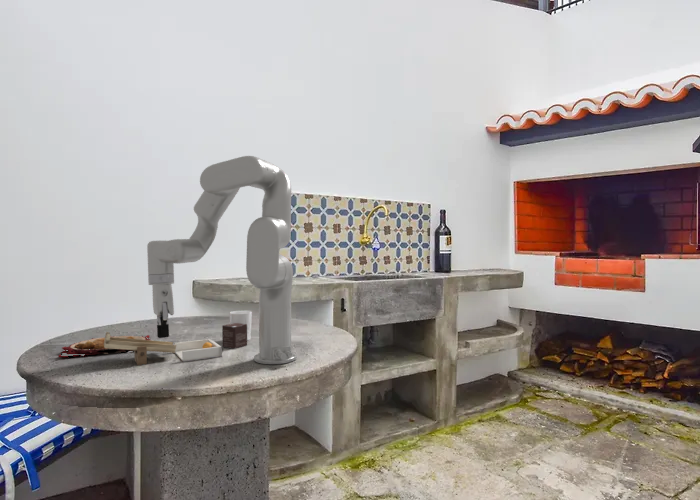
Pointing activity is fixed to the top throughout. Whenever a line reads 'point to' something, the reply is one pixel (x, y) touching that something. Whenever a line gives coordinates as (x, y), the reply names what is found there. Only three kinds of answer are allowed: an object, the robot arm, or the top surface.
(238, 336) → the box
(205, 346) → the ball
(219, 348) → the dish
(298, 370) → the top surface
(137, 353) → the fulcrum
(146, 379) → the top surface
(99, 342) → the plate with food
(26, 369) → the top surface
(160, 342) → the lever
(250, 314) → the white cup
